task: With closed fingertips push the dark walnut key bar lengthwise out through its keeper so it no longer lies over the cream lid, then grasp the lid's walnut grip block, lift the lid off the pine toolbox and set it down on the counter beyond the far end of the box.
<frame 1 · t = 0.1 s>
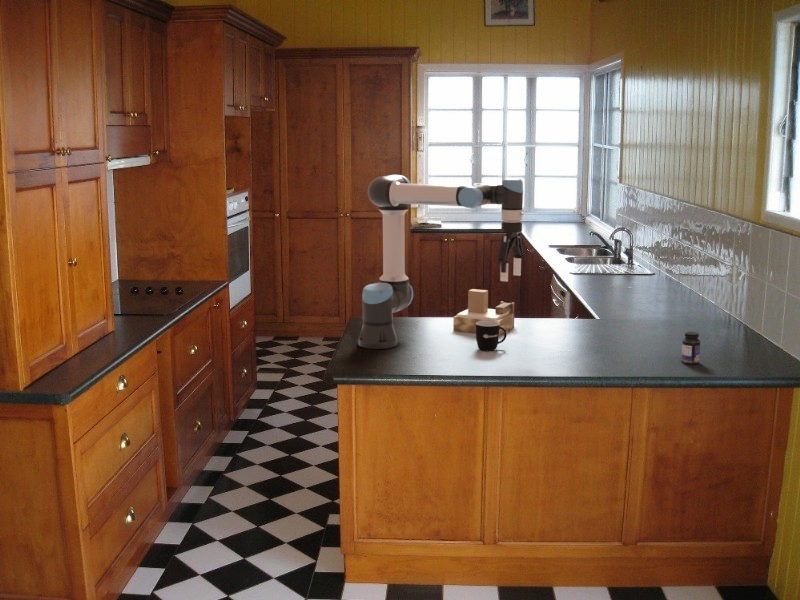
hand: (510, 278, 328), 28 cm above the countertop, fingers open, 13 cm apart
pill bottle: (690, 363, 318), on the countertop
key: (504, 307, 369), point 9 cm above the countertop, slide at 0.0 cm
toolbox: (483, 329, 369), on the countertop
mug: (491, 349, 337), on the countertop
lid: (483, 315, 368), point 6 cm above the countertop, touching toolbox
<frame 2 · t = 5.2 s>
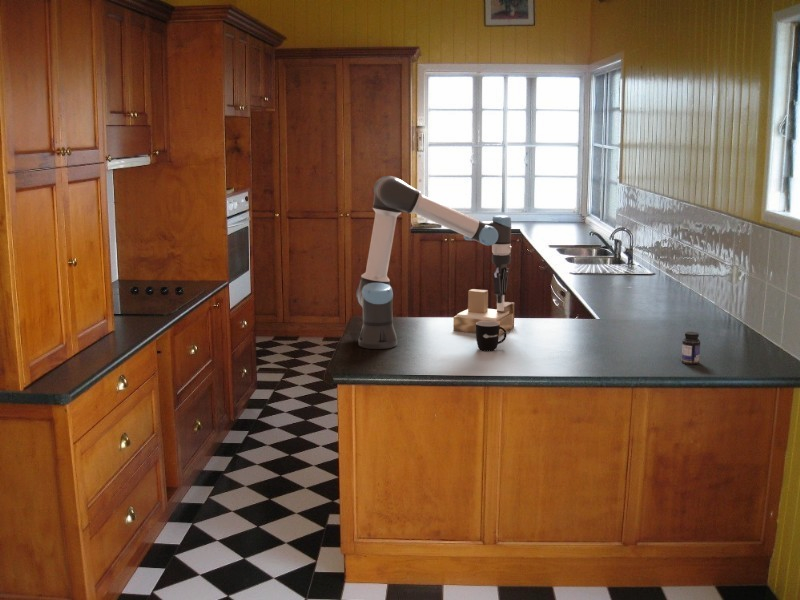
hand: (500, 310, 365), 9 cm above the countertop, fingers closed
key: (505, 307, 370), point 9 cm above the countertop, slide at 1.6 cm, touching gripper
everything else where it was.
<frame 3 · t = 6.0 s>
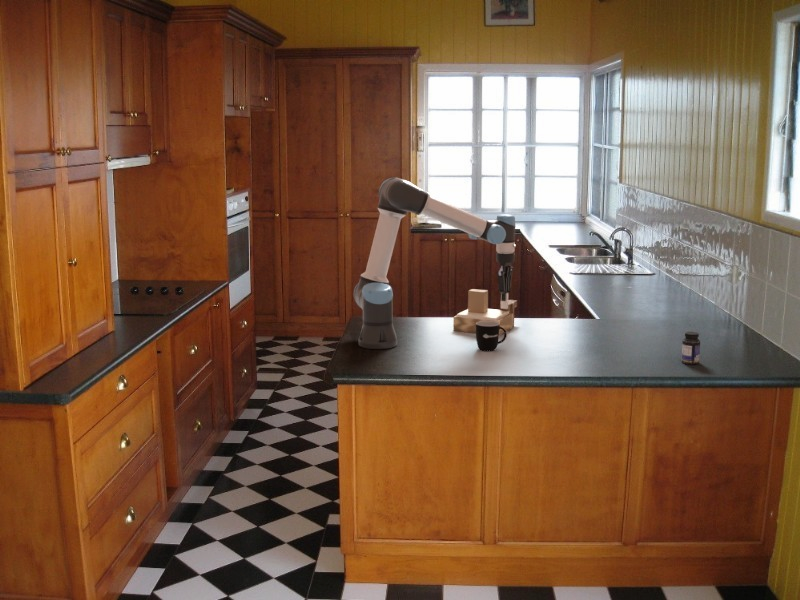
hand: (504, 308, 369), 9 cm above the countertop, fingers closed
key: (509, 305, 374), point 9 cm above the countertop, slide at 6.3 cm, touching gripper
everything else where it was.
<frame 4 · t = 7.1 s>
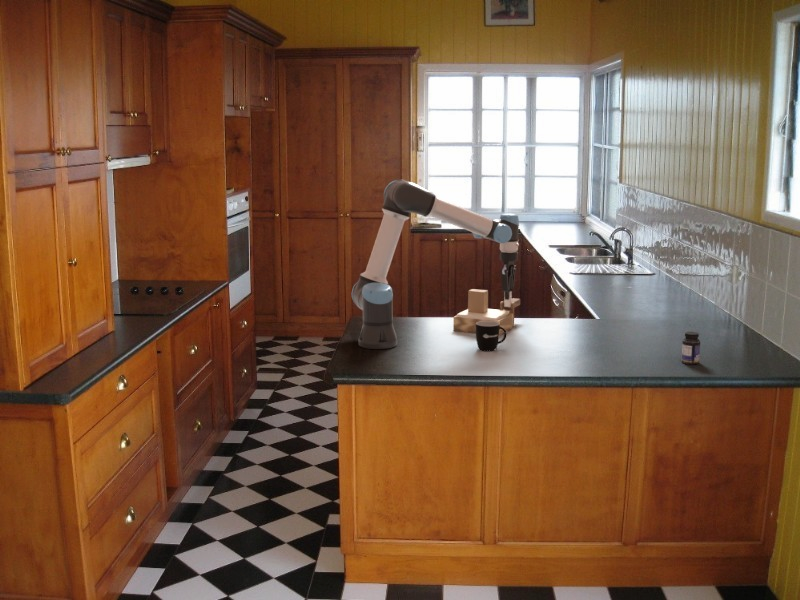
hand: (507, 306, 372), 8 cm above the countertop, fingers closed
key: (512, 303, 378), point 9 cm above the countertop, slide at 10.4 cm, touching gripper
everything else where it was.
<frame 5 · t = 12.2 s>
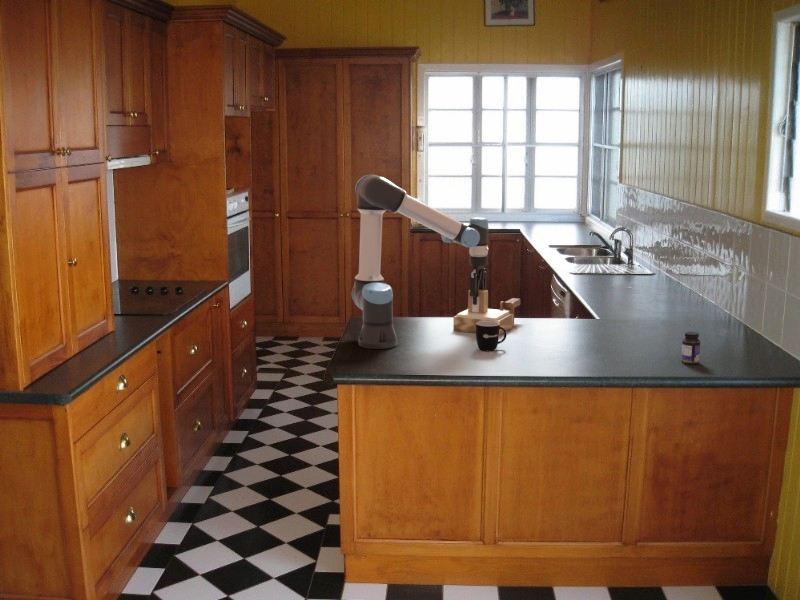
hand: (477, 310, 368), 8 cm above the countertop, fingers closed on lid, 4 cm apart
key: (513, 303, 378), point 9 cm above the countertop, slide at 10.5 cm
lid: (483, 315, 368), point 6 cm above the countertop, touching gripper, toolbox
everything else where it was.
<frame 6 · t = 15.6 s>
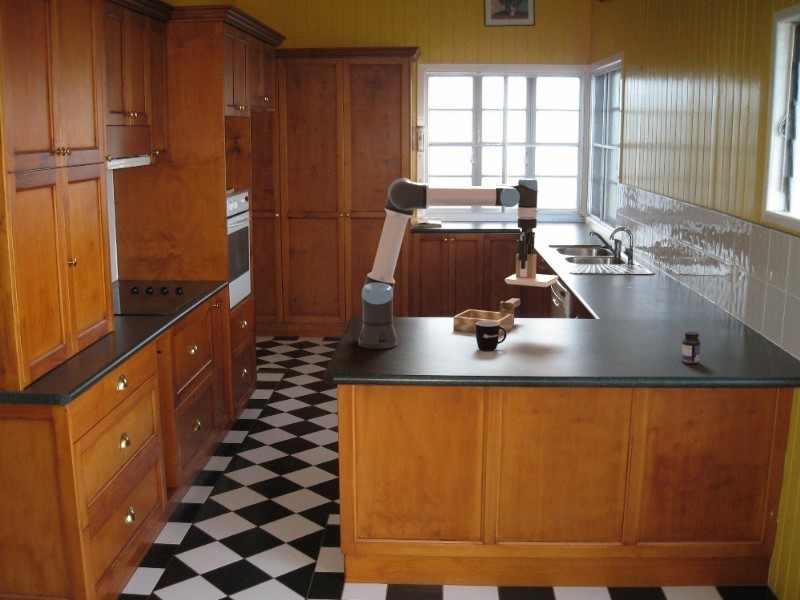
hand: (525, 275, 356), 24 cm above the countertop, fingers closed on lid, 4 cm apart
lid: (531, 280, 355), point 22 cm above the countertop, touching gripper
everything else where it was.
when the fingers open (4 cm above the countertop, at t = 19.3 s): lid drops 2 cm, point 1 cm above the countertop.
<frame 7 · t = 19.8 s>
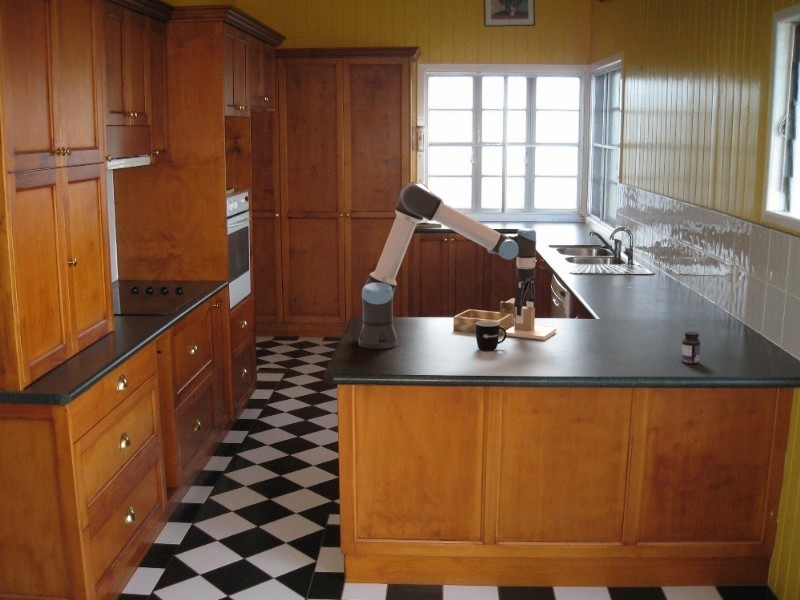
hand: (524, 320, 360), 6 cm above the countertop, fingers open, 11 cm apart
lid: (530, 332, 359), point 1 cm above the countertop
everything else where it was.
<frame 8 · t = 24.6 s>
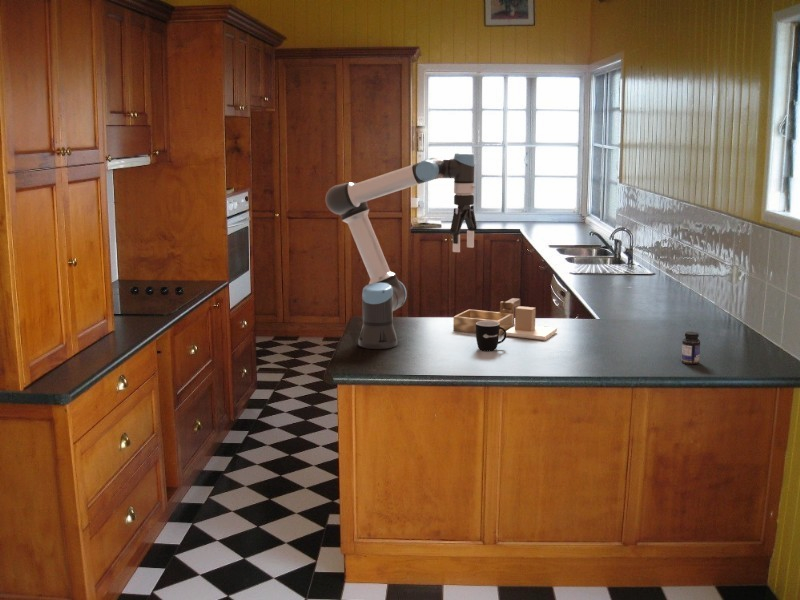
hand: (463, 249, 340), 37 cm above the countertop, fingers open, 13 cm apart
nothing on the countertop moved.
at the end: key slide at 10.5 cm; lid inside the target area (0.8 cm from its centre), point 0.7 cm above the countertop; lid tilted 0° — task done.
